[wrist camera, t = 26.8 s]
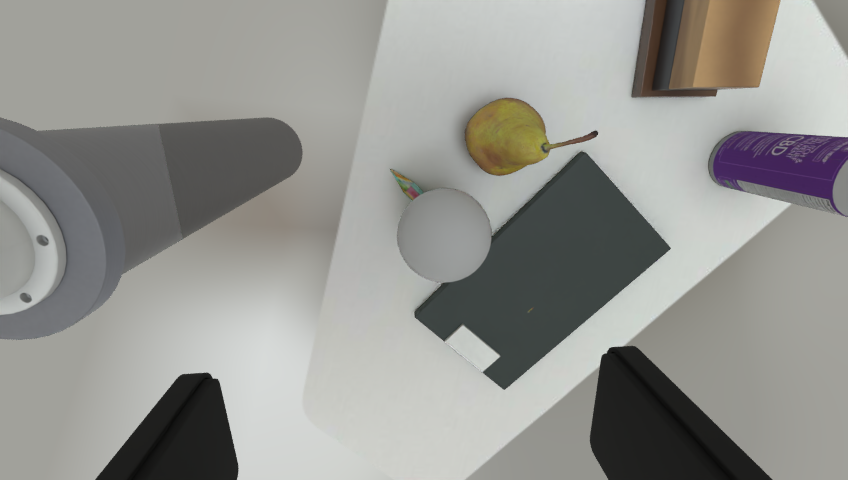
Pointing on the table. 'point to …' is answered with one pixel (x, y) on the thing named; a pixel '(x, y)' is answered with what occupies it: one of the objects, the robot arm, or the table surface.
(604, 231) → the board
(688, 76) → the eraser
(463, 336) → the white rectangular block
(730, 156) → the container
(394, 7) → the table surface
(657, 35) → the eraser rest
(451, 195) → the lightbulb
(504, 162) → the fruit
